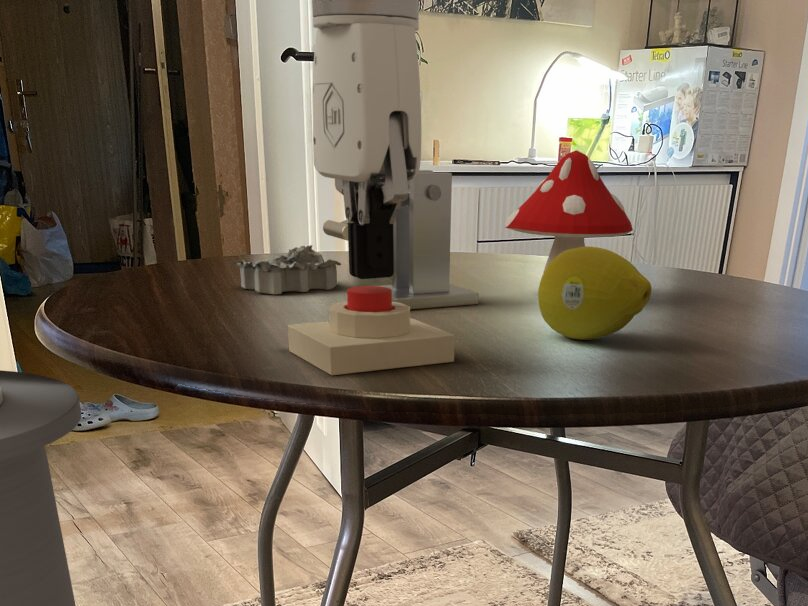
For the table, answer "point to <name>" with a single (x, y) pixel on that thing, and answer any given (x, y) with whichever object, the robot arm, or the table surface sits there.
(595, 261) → the lemon
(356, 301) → the button
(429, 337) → the control block
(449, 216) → the grey lever stand
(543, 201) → the decorative mushroom
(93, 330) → the table surface
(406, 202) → the tap lever
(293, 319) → the table surface
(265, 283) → the egg carton
